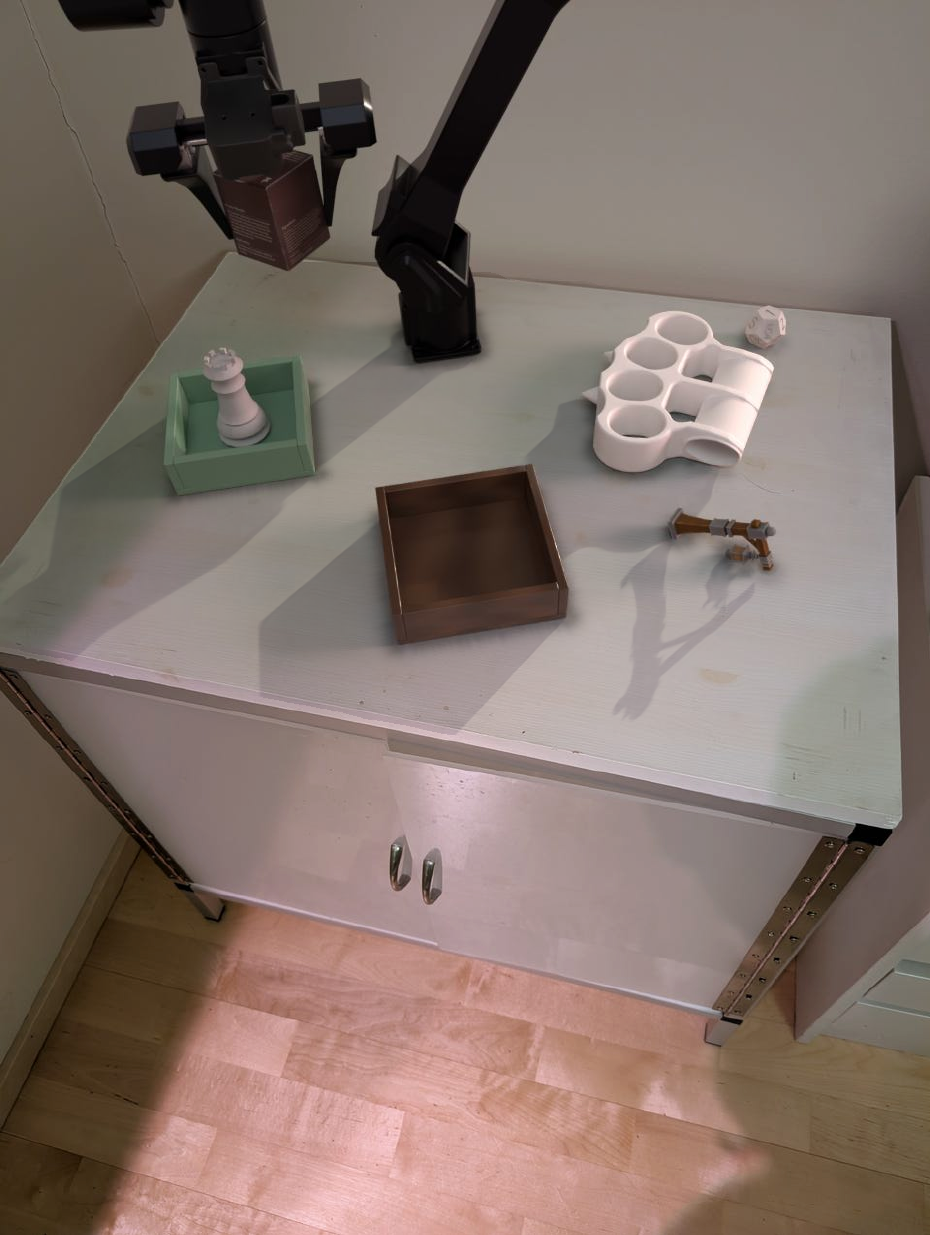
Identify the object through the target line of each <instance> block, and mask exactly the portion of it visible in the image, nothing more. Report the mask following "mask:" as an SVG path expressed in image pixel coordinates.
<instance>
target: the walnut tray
mask: <svg viewBox="0 0 930 1235" xmlns="http://www.w3.org/2000/svg"><path fill="white" fill-rule="evenodd" d="M374 492H375V497H376V499H375V500H376V505H377V513H378V521H379V528H380V536H381V544H382V551H383V558H384V566H385V573H386V579H387V580H386V581H387V588H388V595H389V603H390V611H391V617H392V623H393V627H394V631H395V636H396V641H397V642H396V643H397V644H398V645H404V644H411V643H417V642H423V641H430V640H436V639H441V638H449V637H455V636H460V635H468V634H473V633H479V632H485V631H492V630H498V629H505V628H510V627H511V628H512V627H516V626H517V627H518V626H522V625H523V626H524V625H531V624H535V623H541V622H547V621H555V620H560V619H566V618H567V617H568V604H569V590H570V587H569V583H568V580H567V577H566V574H565V569H564V566H563V562H562V560H561V556H560V553H559V549H558V545H557V542H556V539H555V535H554V531H553V529H552V525H551V521H550V519H549V518H550V517H549V514H548V510H547V509H546V504H545V501H544V498H543V494H542V491H541V487H540V484H539V481H538V477H537V474H536V470H535V467H534V464H533V463H530V464H521V465H515V466H509V467H501V468H494V469H489V470H482V471H475V472H467V473H463V474H455V475H449V476H443V477H442V476H441V477H435V478H428V479H423V480H416V481H410V482H403V483H395V484H389V485H384V486H383V485H382V486H377V487H374Z"/></svg>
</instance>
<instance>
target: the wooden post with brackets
mask: <svg viewBox="0 0 930 1235" xmlns="http://www.w3.org/2000/svg"><path fill="white" fill-rule="evenodd" d="M666 523H667V526H668V528H669V532H670V535H671V538H672V540H678V539H679V538H680V536H681V535H683V534H684V535H685V534H710V536H711V537H714V536H716V537H724V538H726V537H727V536H728V538H729V539H730V538H731V539H733V538H734V536H736V537H743V538H744V539H745V540H746V541H747V542H748V543H750V545H752V546H753V548H755V549H756V550H757V552H758V554H757V553H756V551H755V550H753V551H752V550H751V549H750V546H749V544H747V545H746V546H745V547H744V546H740V545H737V544H734V545H733V546H732V548H726V550H725V555H726V556H727V557H728V558H729V557H730V561H731V562H732V563H733V562H735V561H736V562H743V565H746V564H747V562H748V561H749V560H751V562H753V561H754V560H756V559H758V560H759V563H760V564H761V566H762V568H763V569H762V570H763V571H768V572H771V571H772V569H773V567H774V566H775V565H774V561H773V559H774V557H773V553H772V551H771V550H770V548H769V544H768V538H769V537H774V536H775V535H776V534H777V529H776V527H775V526H771V524H770V522H769V521H762V520H761V519H758V518H757V519H756V518H753V520H751V521H750V522H742V521H737V520H736V519H733V518H732V519H731V520H730V519H729V518H725V519H724V518H716V517H714V518H713V519H708V518H707V519H706V518H701V517H697V516H692V515H689V514H686V513H685V512H684V508H683V507H679V506H677V508H676V509H675V511H674V512H673V513H672V514H671V516H670V517H669V518H668V520H667V522H666Z"/></svg>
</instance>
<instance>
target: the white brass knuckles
mask: <svg viewBox="0 0 930 1235" xmlns="http://www.w3.org/2000/svg"><path fill="white" fill-rule="evenodd" d="M602 355H603V356H604V357H605V359H606V360H607V361H608V363H609V364H610V365H609V366H608V367H607V368H606V369H605V370H603V371H602V372H600V374H599V381H598V385H597V386H593V387H592V388H590V389H587V390H584V391H582V392H579V395H580V396H582V397H584V398H585V399H586V400H588V401H590V402H591V403H593V404H595V405H596V411H595V421H594V429H593V440H592V448H593V450H594V454H595V455H596V457H597V458H598V460H600V461H601V463H603V464H604V465H606V466H607V467H609V468H611V469H614V470H616V471H619V472H623V473H641V472H647V471H650V470H653V469H654V468H656V467H658V466H660V465H661V464H662V463H663V462H664V461H665V460H668V459H673V458H679V457H680V458H684V459H689V460H693V461H697V462H701V463H705V464H708V465H712V466H720V467H726V466H727V467H730V466H735V465H737V464H738V463H740V462H741V459H742V457H743V454H744V450H745V447H746V446H747V442H748V440H749V437H750V435H751V432H752V429H753V428H754V424H755V421H756V420H757V416H758V413H759V411H760V408H761V405H762V402H763V399H764V398H765V394H766V392H767V389H768V386H769V384H770V382H771V380H772V377H773V373H774V370H775V367H774V366H773V364H772V363H771V362H770V361H769V360H768V359H767V358H766V357H764V356H762V355H760V354H758V353H755V352H753V351H752V352H751V351H748V350H745V349H743V348H738V347H734V346H729V345H724V344H722V343H721V342H719V341H718V340H716V339H715V338H714V333H713V329H712V328H711V325H710V324H709V323H708V322H707V321H706V320H704V319H703V318H702V317H700V316H698V315H696V314H693V313H691V312H686V311H681V310H669V311H662V312H657V313H655V314H653V315H650V316H649V317H647V320H646V326H645V327H644V328H643V330H642V331H640V332H639V333H637V334H635V335H633V336H630V337H626V338H624V339H623V341H621V342H620V343H619V344H617V346H616V347H614V349H613V350H612V351H611V350H610V351H604V352H602ZM698 376H706V377H709V378H710V379H712V380H711V382H710V381H706V380H702V379H697V378H696V377H698ZM670 413H680V414H684V415H687V416H692V417H696V418H695V420H694V421H692V420H690V421H683V422H680V421H676V420H674V419H673V417H672V416H671V414H670ZM629 436H639V437H629Z"/></svg>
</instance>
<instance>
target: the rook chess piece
mask: <svg viewBox="0 0 930 1235" xmlns="http://www.w3.org/2000/svg"><path fill="white" fill-rule="evenodd" d="M218 351H219V352H218V353H216V352H215V350H214V349H211V350H210V351H208V352H207V354H208V355H204V358H203V362H204V365H203V367H202V369H203V373H204V376H206V377H207V378H208V379H210V380H212V383H211V387H212V389H213V390H214V391H215V392H216V393H217V396H218V402H219V407H220V409H219V413H218V419H217V428H218V430H219V435H220V438H221V440H222V441H223V442H225V443H226V444H227V445H230V446H232V447H236V448H237V447H244V446H250V445H257V444H258V443H260V442H261V441H263V439H264V438H265V437H266V435H267V434H268V432H269V428H270V423H269V420H268V418H267V416H266V414H265V411H264V410H263V408H262V407H260V406H259V405H258V404H257V403H256V402H255V401H253V400H252V399H251V397H250V395H249V393H248V391H247V390H246V388H245V385H244V384H245V377H244V375H242V374H241V373H240V372H241V370H242V368H243V363H244V362H243V360H242V359H241V358H240V357H239V356H238V355H236V353H235V351H234V350H233V349H232V348H229V349H228V350H227V348H226V347H218Z"/></svg>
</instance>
